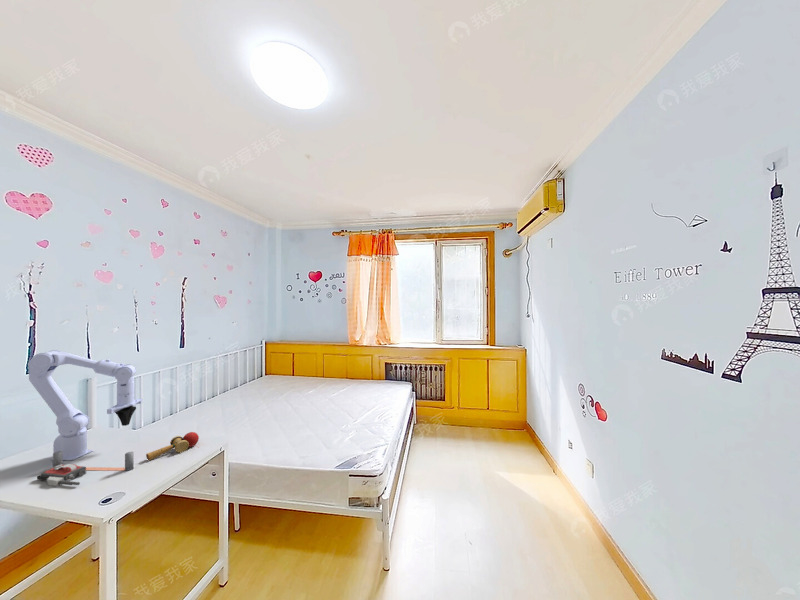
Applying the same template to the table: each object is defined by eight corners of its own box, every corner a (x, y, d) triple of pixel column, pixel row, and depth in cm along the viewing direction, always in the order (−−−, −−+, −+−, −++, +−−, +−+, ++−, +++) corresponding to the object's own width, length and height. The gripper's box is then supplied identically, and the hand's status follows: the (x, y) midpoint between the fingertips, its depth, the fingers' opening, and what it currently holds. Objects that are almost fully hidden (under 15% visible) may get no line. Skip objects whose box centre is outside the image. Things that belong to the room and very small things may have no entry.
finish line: (50, 470, 114) (51, 454, 115) (58, 466, 117) (58, 451, 117) (129, 471, 113) (129, 454, 113) (135, 467, 115) (135, 451, 116)
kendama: (153, 467, 118) (203, 443, 133) (149, 451, 118) (200, 429, 133) (146, 465, 123) (196, 442, 138) (142, 449, 123) (192, 428, 138)
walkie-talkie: (28, 484, 106) (74, 490, 102) (28, 471, 106) (75, 476, 102) (60, 471, 114) (104, 475, 111) (60, 459, 115) (104, 463, 111)
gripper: (118, 398, 126) (118, 431, 126) (148, 388, 141) (148, 418, 140) (102, 398, 126) (101, 431, 126) (134, 388, 141) (133, 418, 141)
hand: (125, 425), depth 133 cm, fingers closed
